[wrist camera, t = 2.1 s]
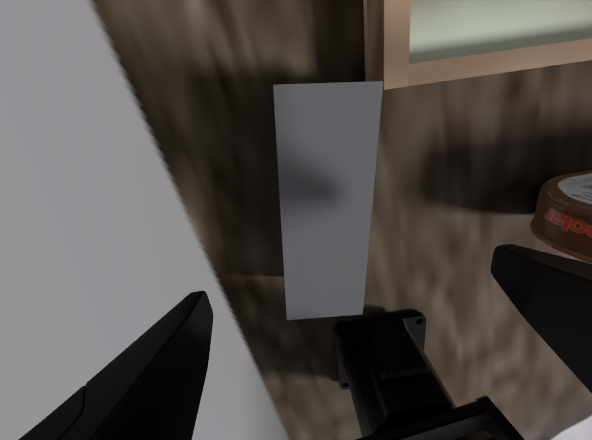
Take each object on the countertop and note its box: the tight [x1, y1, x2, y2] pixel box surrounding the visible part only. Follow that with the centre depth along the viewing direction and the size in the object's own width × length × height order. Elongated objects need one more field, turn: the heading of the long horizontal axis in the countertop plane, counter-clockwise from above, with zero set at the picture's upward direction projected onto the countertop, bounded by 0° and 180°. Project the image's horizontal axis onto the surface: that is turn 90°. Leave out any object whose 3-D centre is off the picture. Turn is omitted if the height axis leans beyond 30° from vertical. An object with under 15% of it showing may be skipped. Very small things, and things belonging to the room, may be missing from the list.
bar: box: [273, 81, 383, 320], centre depth 14 cm, size 11×4×4 cm, turn 2°
